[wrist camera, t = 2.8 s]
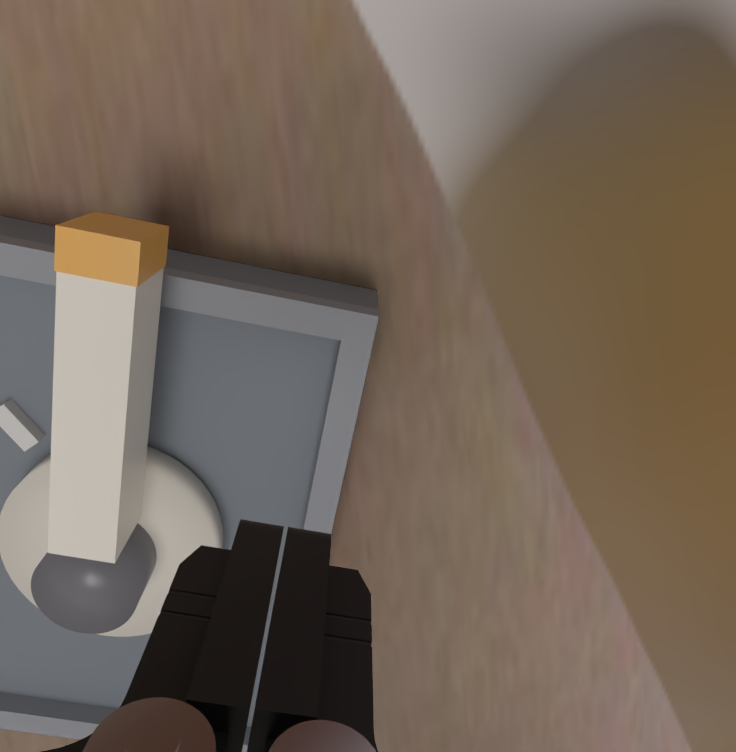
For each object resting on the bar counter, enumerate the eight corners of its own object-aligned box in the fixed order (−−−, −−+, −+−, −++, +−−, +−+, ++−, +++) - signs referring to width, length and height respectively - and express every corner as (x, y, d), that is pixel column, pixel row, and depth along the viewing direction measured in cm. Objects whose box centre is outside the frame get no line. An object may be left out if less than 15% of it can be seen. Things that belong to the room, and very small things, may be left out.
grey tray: (376, 290, 28) (379, 316, 24) (288, 700, 37) (280, 766, 33) (-57, 204, 26) (-125, 217, 23) (-43, 652, 35) (-91, 716, 31)
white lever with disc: (211, 626, 30) (187, 708, 26) (14, 596, 30) (-43, 675, 26) (269, 238, 24) (249, 263, 20) (18, 187, 23) (-59, 202, 19)
